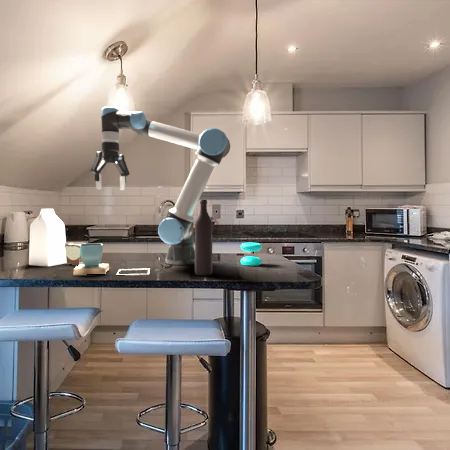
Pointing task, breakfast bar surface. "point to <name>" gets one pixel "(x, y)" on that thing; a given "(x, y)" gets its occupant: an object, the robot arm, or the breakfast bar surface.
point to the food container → (73, 253)
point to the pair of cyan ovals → (251, 260)
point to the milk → (47, 240)
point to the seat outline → (133, 274)
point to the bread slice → (91, 269)
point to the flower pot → (91, 254)
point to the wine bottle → (203, 242)
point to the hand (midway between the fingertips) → (111, 189)
